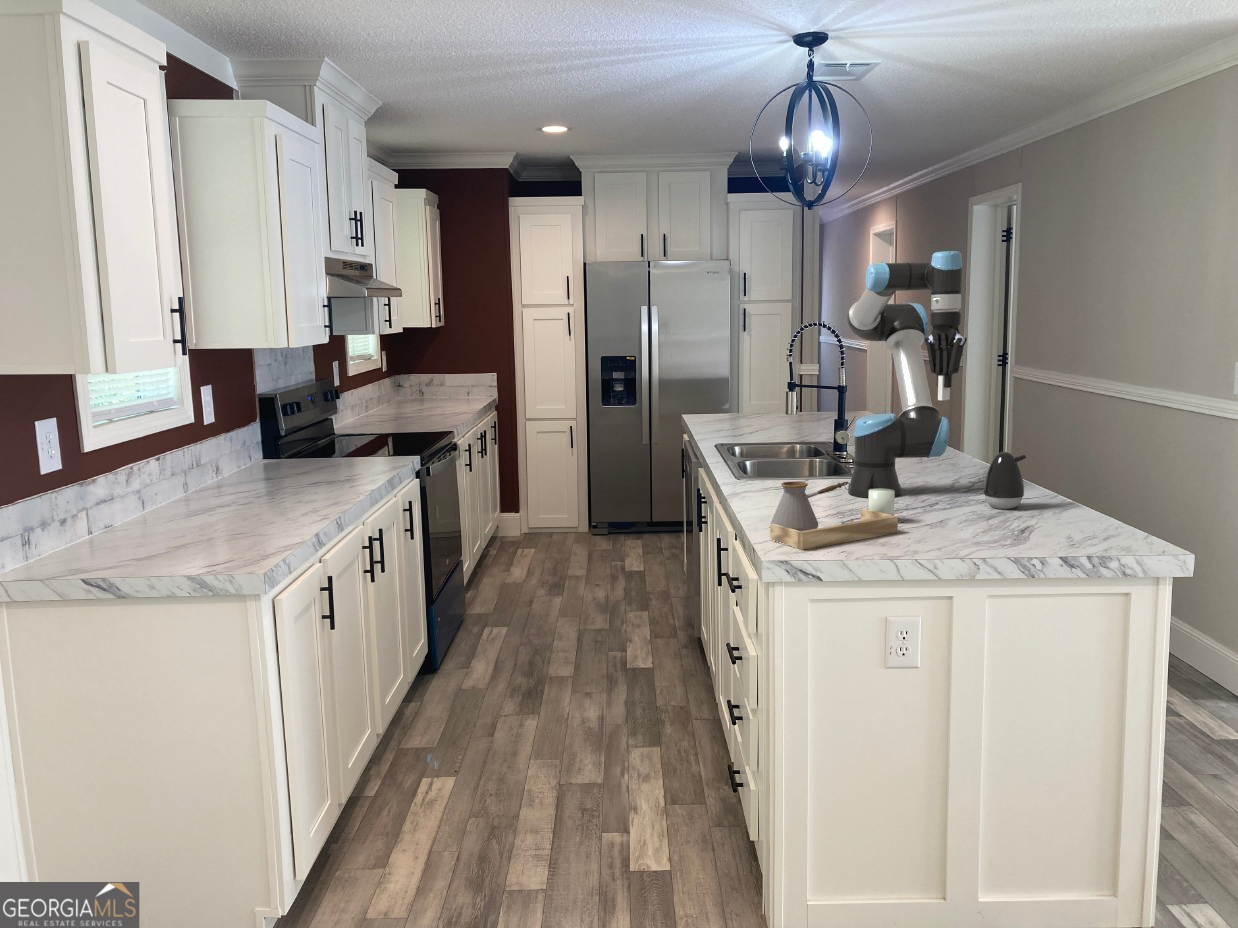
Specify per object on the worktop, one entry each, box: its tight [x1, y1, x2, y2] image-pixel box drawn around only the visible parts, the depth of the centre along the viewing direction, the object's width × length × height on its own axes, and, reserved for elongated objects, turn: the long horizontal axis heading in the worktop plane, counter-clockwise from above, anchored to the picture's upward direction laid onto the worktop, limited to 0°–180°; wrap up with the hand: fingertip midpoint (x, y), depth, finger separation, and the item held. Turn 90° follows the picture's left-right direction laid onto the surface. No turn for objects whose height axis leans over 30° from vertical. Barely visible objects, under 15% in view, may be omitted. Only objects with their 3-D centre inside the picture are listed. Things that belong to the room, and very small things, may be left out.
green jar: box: [867, 488, 896, 516], centre depth 240 cm, size 6×6×8 cm
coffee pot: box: [770, 480, 851, 531], centre depth 223 cm, size 21×12×15 cm, turn 42°
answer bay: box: [769, 508, 899, 551], centre depth 225 cm, size 12×30×4 cm, turn 119°
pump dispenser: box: [983, 451, 1027, 510], centre depth 251 cm, size 10×10×15 cm
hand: (943, 399), depth 251 cm, fingers closed
